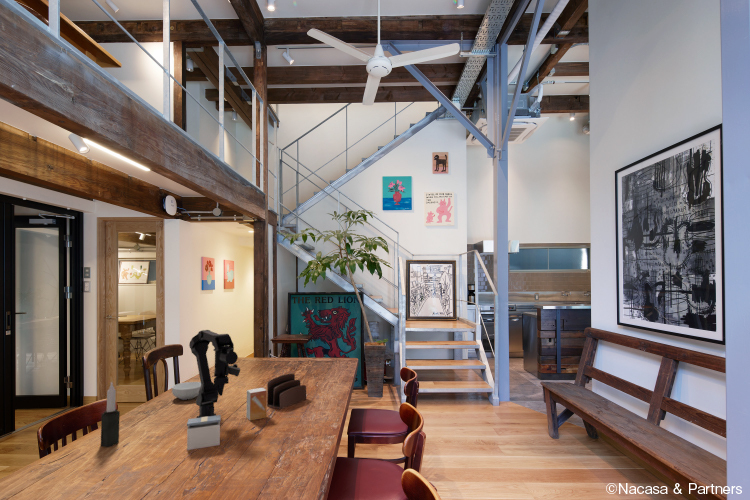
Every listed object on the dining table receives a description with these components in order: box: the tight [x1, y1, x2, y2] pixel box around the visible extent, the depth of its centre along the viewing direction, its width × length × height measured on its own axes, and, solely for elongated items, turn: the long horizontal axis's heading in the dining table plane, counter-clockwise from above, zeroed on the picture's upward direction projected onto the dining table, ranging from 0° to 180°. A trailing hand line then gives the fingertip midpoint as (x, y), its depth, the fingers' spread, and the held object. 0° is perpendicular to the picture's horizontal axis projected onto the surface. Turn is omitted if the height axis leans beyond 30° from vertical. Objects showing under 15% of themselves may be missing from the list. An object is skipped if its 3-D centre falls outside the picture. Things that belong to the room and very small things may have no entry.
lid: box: [186, 414, 222, 427], centre depth 161 cm, size 9×12×1 cm
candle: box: [100, 381, 121, 448], centre depth 162 cm, size 5×5×25 cm
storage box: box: [186, 422, 221, 451], centre depth 161 cm, size 8×12×8 cm, turn 112°
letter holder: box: [266, 373, 307, 410], centre depth 212 cm, size 10×20×14 cm, turn 147°
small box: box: [246, 387, 268, 421], centre depth 190 cm, size 8×6×13 cm
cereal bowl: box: [171, 381, 201, 401], centre depth 223 cm, size 17×17×7 cm
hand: (220, 395), depth 183 cm, fingers closed
